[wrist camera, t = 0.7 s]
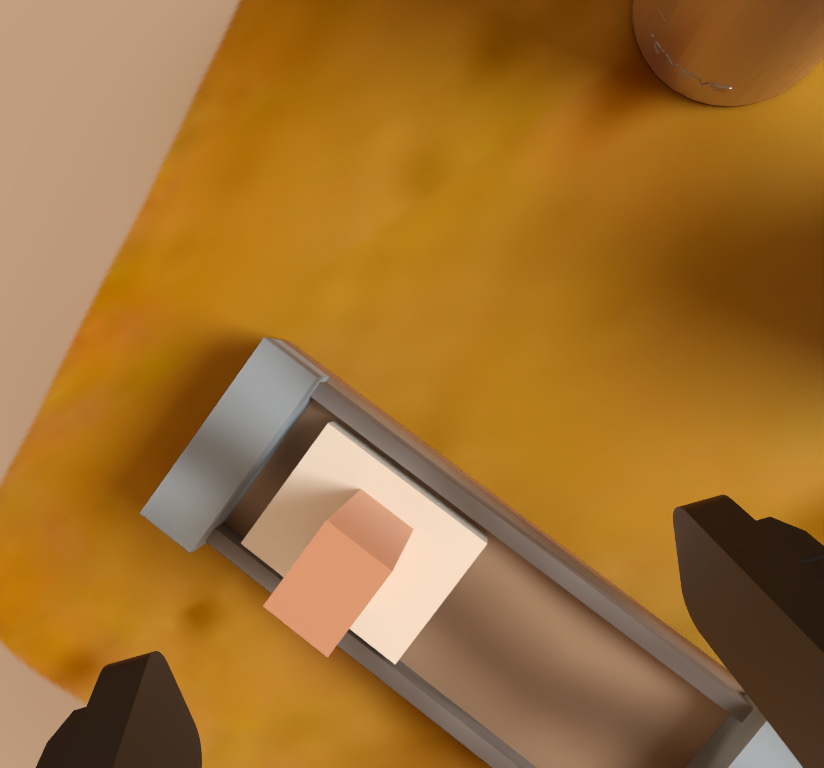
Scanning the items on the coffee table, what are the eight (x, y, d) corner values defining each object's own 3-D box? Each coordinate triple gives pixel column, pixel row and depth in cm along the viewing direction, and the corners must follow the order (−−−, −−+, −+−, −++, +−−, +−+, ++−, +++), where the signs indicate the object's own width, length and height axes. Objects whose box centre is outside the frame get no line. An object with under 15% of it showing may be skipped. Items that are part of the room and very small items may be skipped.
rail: (289, 340, 36) (263, 337, 32) (790, 717, 34) (829, 763, 30) (177, 497, 37) (139, 513, 33) (659, 875, 35) (680, 941, 31)
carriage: (335, 420, 34) (284, 436, 26) (487, 535, 34) (485, 590, 25) (251, 536, 35) (176, 587, 27) (399, 652, 34) (369, 741, 26)
